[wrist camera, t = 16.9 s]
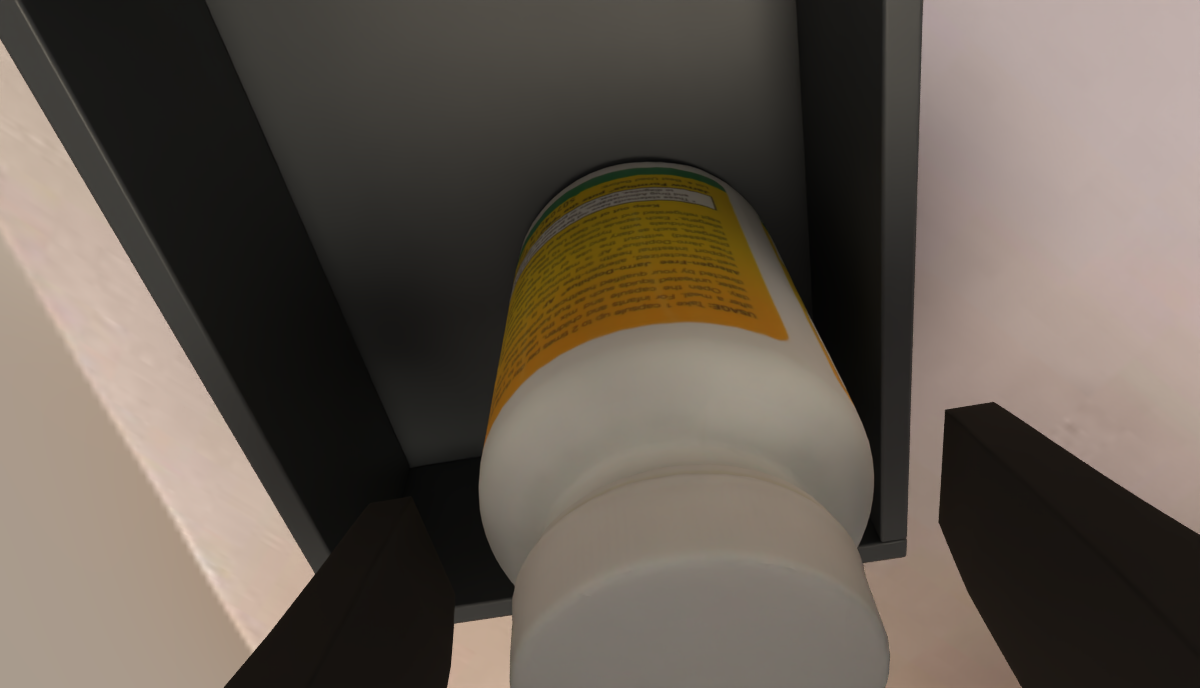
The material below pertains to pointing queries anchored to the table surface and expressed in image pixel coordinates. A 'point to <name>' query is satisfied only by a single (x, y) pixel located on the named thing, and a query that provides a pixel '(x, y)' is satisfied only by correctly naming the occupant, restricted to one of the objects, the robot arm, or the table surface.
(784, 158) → the open black bin
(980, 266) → the table surface
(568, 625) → the supplement bottle
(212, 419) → the table surface
